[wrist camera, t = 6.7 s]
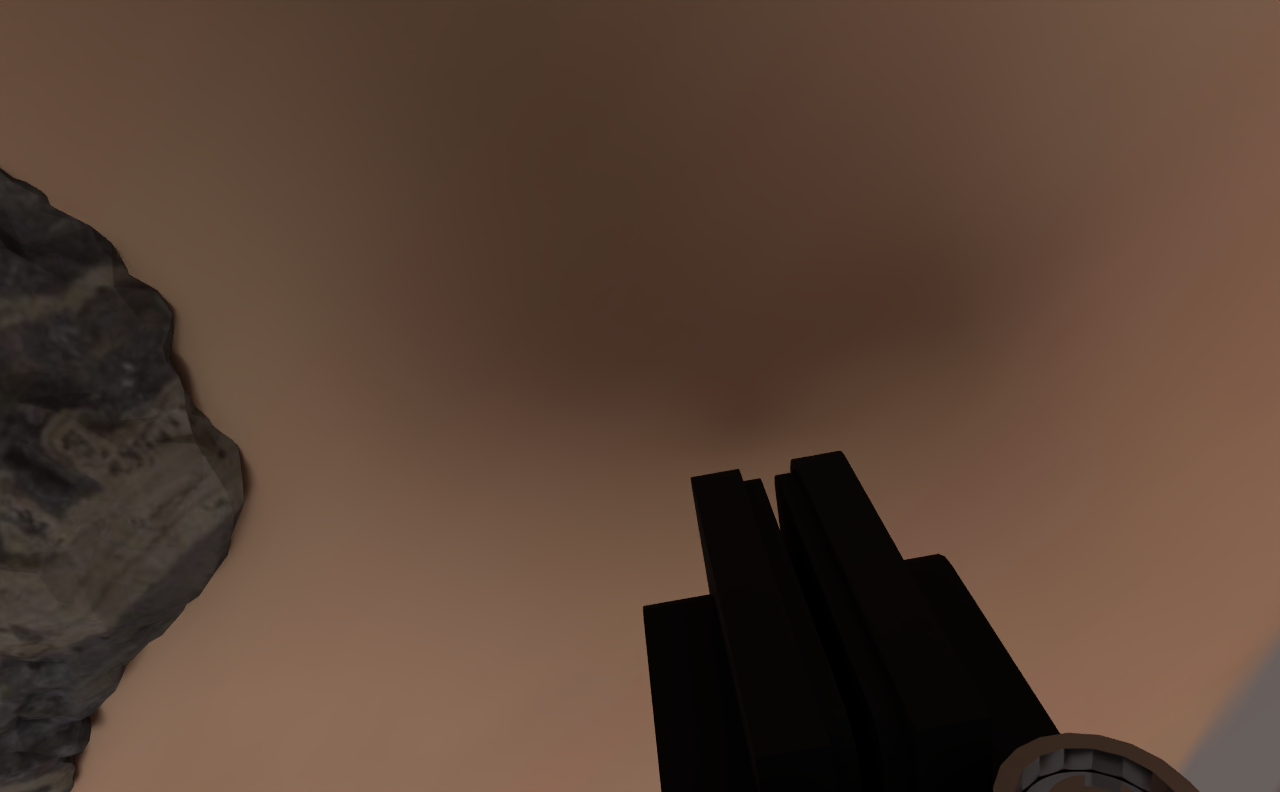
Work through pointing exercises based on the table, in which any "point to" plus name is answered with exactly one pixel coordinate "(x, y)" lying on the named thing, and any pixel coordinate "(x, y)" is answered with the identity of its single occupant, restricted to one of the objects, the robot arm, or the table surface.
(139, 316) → the grey rough rock slab
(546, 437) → the table surface
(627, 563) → the table surface
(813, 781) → the robot arm
